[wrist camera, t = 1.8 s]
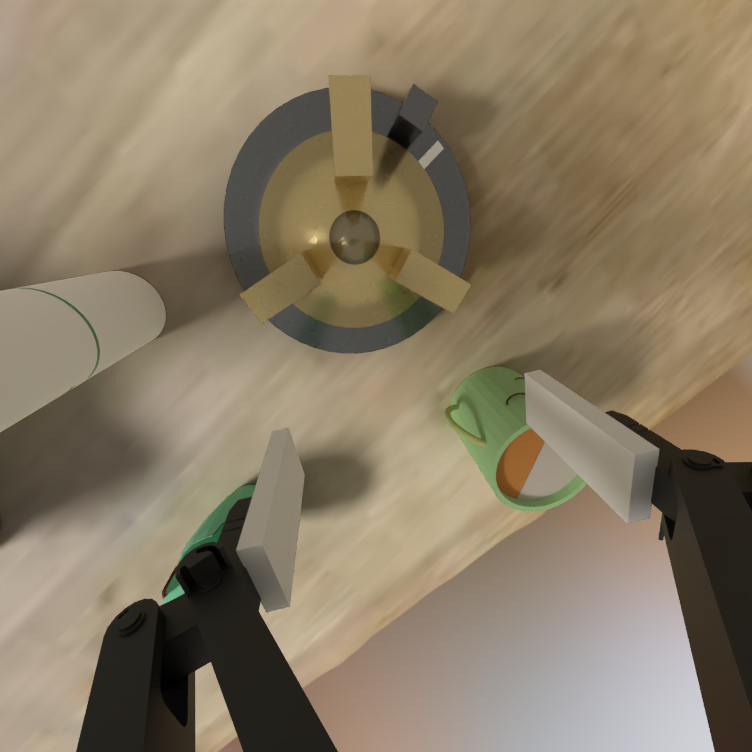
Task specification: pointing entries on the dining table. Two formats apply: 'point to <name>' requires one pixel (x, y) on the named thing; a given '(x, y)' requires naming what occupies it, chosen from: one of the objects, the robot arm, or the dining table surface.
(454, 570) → the dining table surface
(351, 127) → the three-jaw lathe chuck
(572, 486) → the mug
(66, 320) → the cylindrical container
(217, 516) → the mug
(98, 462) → the dining table surface
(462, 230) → the ring
